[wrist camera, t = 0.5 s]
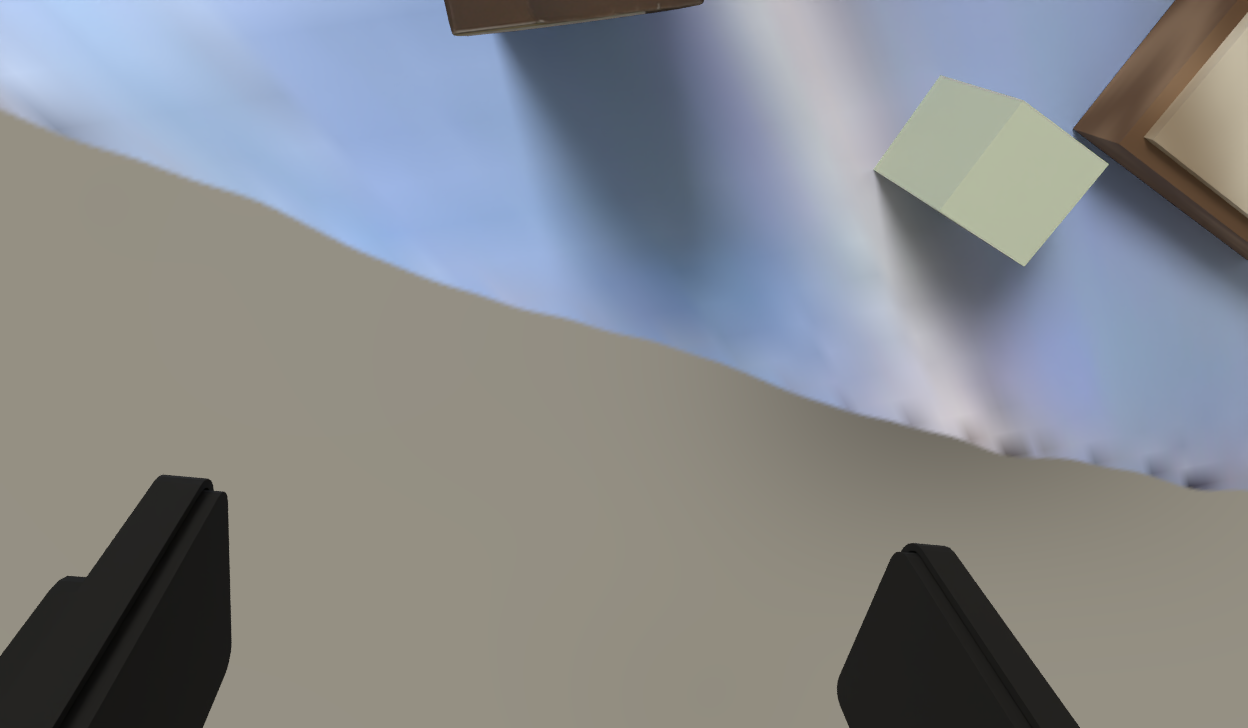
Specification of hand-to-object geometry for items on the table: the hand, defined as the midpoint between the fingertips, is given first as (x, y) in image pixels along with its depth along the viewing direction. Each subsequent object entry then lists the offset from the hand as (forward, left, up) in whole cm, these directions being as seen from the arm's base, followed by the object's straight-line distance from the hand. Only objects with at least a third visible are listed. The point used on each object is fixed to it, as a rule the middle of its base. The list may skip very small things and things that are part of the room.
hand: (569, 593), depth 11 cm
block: (-10, +17, -29) cm, 35 cm away
